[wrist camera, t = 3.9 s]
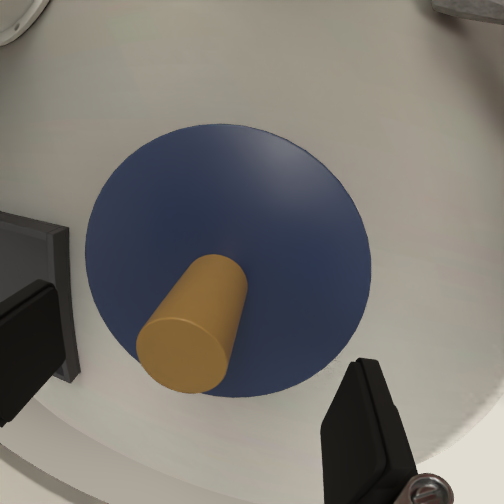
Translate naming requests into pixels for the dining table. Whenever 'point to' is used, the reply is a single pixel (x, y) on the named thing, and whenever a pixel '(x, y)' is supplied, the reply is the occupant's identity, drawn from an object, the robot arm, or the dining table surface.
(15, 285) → the tray
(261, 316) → the tin lid
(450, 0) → the bouquet
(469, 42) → the dining table surface
